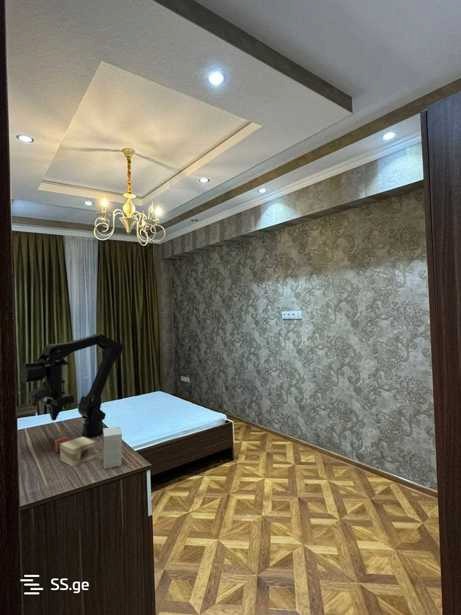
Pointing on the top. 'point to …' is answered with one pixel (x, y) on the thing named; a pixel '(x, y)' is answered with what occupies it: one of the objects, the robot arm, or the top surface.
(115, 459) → the small box
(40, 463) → the top surface
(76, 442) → the block
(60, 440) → the pin
